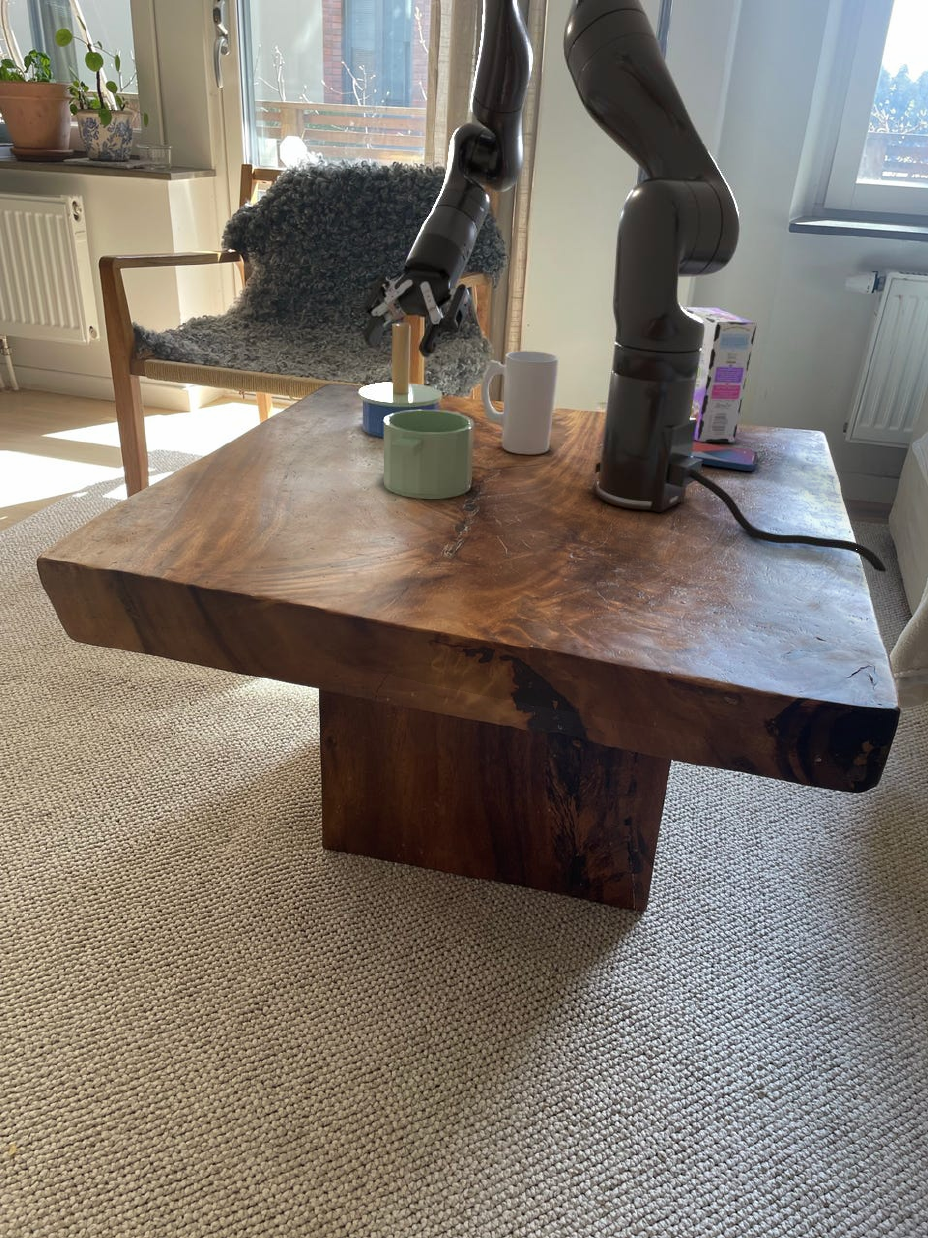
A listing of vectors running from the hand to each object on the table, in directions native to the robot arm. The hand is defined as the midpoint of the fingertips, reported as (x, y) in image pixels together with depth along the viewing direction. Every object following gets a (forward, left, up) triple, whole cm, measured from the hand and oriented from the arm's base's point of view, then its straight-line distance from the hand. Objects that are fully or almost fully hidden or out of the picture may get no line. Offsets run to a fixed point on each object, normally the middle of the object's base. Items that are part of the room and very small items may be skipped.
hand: (395, 348), depth 118 cm
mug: (-16, -6, -11) cm, 20 cm away
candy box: (-30, -33, -11) cm, 46 cm away
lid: (0, -1, -7) cm, 7 cm away
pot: (-18, +14, -11) cm, 25 cm away
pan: (0, -1, -11) cm, 11 cm away
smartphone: (-36, -20, -11) cm, 43 cm away
